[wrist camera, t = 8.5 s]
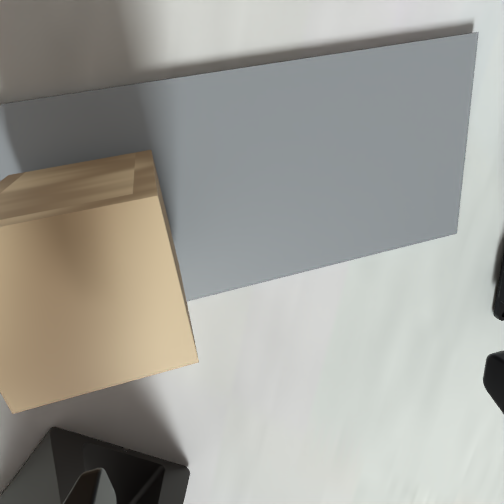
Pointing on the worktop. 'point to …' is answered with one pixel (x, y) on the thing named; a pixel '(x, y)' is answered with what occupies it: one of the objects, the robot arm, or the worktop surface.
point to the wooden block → (87, 281)
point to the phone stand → (88, 458)
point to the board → (278, 155)
